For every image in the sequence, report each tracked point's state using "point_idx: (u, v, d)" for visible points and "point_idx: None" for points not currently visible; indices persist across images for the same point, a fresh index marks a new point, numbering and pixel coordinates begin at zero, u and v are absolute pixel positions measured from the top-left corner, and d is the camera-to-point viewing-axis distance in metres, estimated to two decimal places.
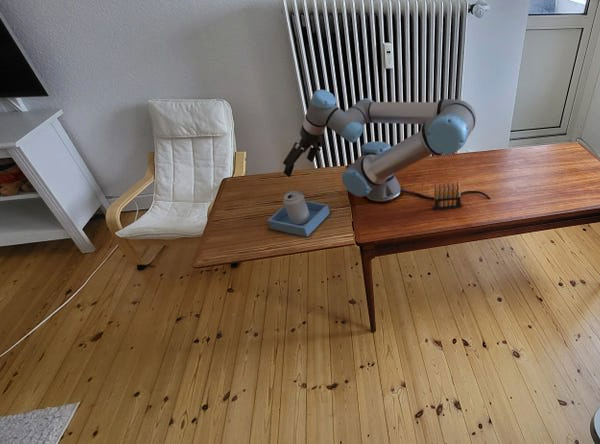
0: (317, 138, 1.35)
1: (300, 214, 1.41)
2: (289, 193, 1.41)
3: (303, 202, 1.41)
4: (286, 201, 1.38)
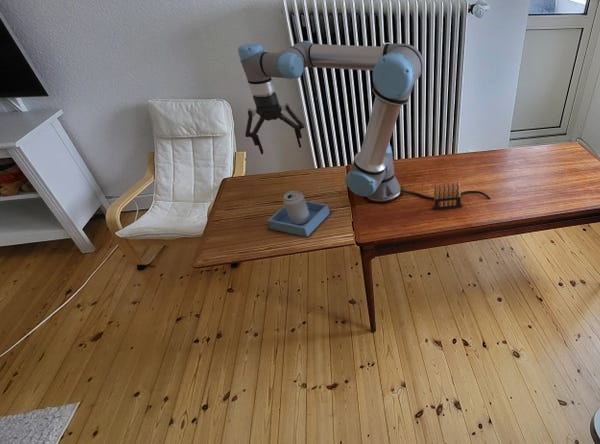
0: (261, 100, 1.26)
1: (300, 214, 1.41)
2: (289, 193, 1.41)
3: (303, 202, 1.41)
4: (286, 201, 1.38)
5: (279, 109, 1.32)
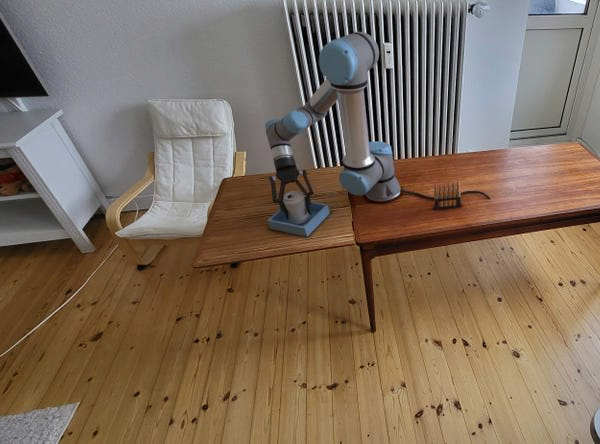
0: (279, 160, 1.40)
1: (300, 214, 1.41)
2: (289, 193, 1.41)
3: (303, 202, 1.41)
4: (286, 201, 1.38)
5: (296, 171, 1.43)
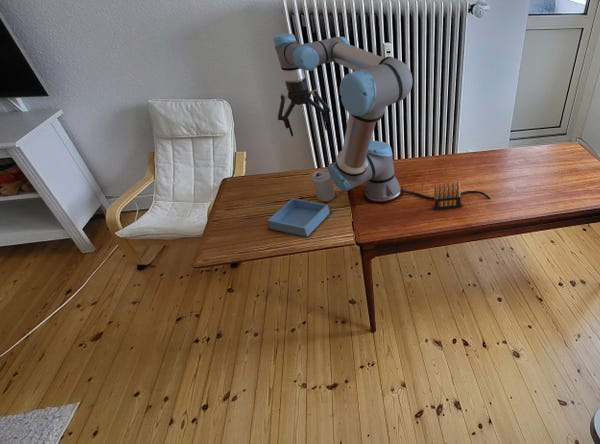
0: (293, 86, 1.38)
1: (327, 191, 1.54)
2: (317, 172, 1.54)
3: (330, 180, 1.53)
4: (315, 179, 1.51)
5: (308, 94, 1.44)
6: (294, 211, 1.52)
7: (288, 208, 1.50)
